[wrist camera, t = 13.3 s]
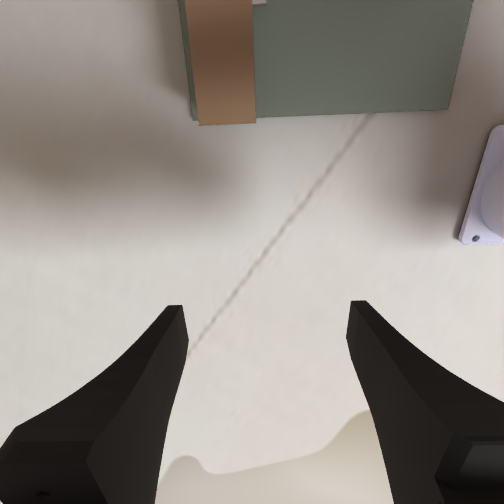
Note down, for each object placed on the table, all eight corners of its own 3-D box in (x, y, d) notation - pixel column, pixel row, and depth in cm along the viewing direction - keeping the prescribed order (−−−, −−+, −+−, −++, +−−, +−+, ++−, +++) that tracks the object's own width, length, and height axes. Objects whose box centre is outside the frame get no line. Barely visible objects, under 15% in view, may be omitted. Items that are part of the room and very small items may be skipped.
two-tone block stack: (267, 110, 19) (271, 122, 15) (200, 113, 19) (183, 126, 15) (264, -106, 14) (267, -181, 10) (177, -100, 15) (143, -172, 10)
